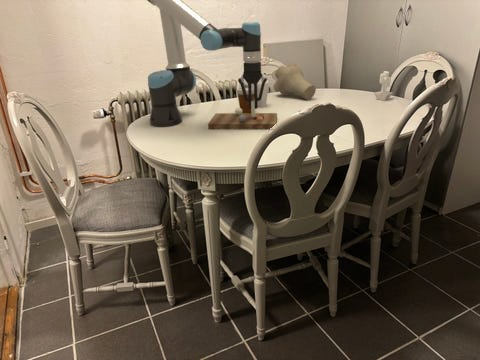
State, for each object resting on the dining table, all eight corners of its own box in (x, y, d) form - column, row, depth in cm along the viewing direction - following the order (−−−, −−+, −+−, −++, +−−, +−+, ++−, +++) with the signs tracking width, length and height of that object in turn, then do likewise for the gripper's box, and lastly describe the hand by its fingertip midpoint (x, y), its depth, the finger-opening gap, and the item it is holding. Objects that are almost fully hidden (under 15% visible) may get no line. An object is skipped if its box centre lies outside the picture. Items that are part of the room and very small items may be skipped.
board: (208, 129, 157) (207, 123, 156) (215, 118, 173) (215, 113, 172) (275, 129, 153) (275, 123, 152) (277, 118, 169) (277, 113, 168)
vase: (333, 75, 196) (301, 59, 213) (306, 74, 183) (274, 56, 201) (320, 112, 207) (290, 93, 225) (293, 112, 194) (264, 92, 212)
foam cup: (249, 107, 190) (248, 83, 184) (254, 103, 197) (254, 80, 192) (265, 108, 186) (265, 83, 181) (271, 104, 194) (271, 80, 189)
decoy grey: (237, 123, 155) (237, 115, 154) (238, 120, 158) (238, 113, 157) (245, 123, 155) (245, 115, 153) (246, 120, 158) (246, 113, 157)
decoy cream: (234, 115, 167) (234, 108, 165) (236, 113, 170) (235, 106, 168) (242, 115, 166) (241, 108, 165) (242, 113, 169) (242, 106, 168)
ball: (264, 120, 159) (259, 126, 161) (265, 118, 162) (260, 124, 164) (258, 115, 159) (254, 121, 160) (259, 114, 162) (254, 119, 163)
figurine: (393, 98, 196) (397, 70, 189) (384, 101, 190) (388, 73, 184) (380, 97, 201) (384, 69, 194) (372, 100, 195) (375, 72, 189)
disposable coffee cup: (254, 115, 176) (253, 90, 171) (235, 114, 178) (234, 90, 173) (257, 110, 184) (256, 87, 179) (239, 110, 186) (238, 87, 181)
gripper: (235, 63, 148) (238, 117, 158) (266, 62, 147) (267, 117, 157) (238, 60, 155) (240, 113, 165) (267, 60, 153) (268, 113, 163)
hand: (253, 115), depth 161 cm, fingers closed
